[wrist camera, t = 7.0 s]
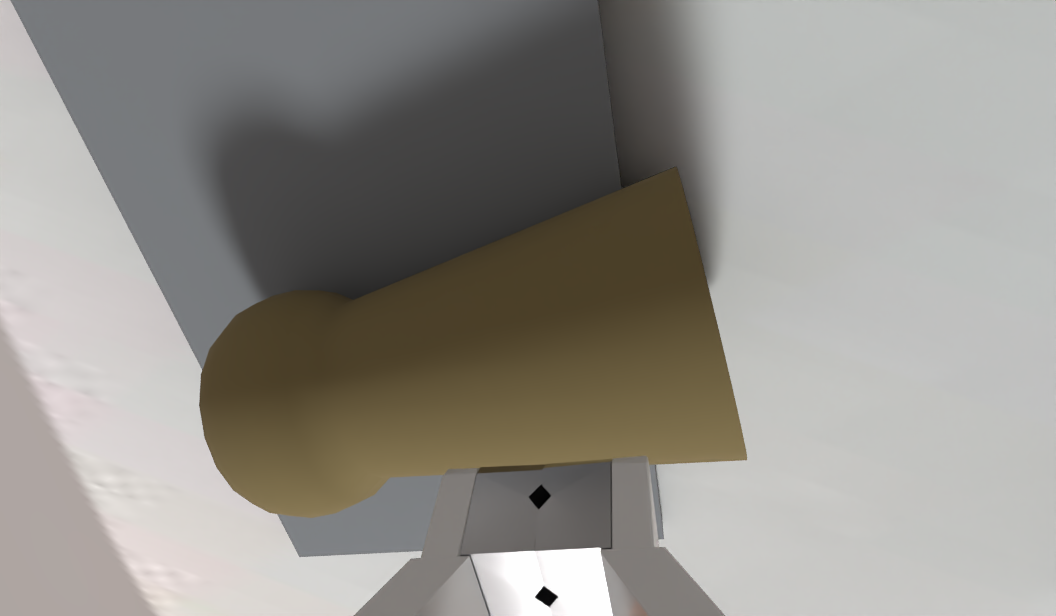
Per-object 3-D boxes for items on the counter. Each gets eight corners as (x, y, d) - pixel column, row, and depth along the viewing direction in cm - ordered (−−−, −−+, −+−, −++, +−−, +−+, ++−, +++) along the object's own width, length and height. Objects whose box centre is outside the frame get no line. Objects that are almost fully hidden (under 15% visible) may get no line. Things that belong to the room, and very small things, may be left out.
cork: (667, 140, 16) (251, 257, 19) (691, 213, 11) (98, 366, 13) (721, 368, 18) (340, 447, 21) (764, 526, 13) (240, 608, 15)
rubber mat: (571, -217, 13) (570, -220, 12) (662, 523, 22) (663, 539, 22) (-9, -82, 15) (-31, -80, 14) (305, 542, 24) (299, 556, 24)
